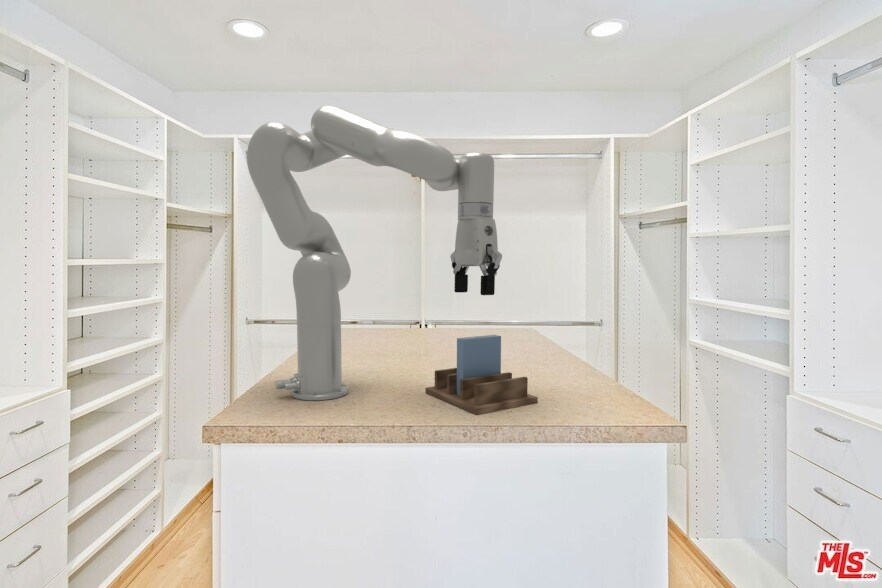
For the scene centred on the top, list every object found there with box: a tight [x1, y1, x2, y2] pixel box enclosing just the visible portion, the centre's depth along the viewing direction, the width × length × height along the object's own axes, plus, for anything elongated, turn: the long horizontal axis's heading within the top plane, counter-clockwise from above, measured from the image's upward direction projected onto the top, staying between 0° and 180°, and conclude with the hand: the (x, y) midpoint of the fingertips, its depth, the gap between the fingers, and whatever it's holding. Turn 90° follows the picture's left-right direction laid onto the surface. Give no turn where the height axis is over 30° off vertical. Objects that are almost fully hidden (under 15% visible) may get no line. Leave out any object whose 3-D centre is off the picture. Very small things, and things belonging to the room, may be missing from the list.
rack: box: [424, 367, 539, 416], centre depth 106 cm, size 16×19×5 cm
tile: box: [456, 334, 502, 395], centre depth 106 cm, size 10×2×12 cm, turn 122°
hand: (473, 293), depth 106 cm, fingers open, 9 cm apart
